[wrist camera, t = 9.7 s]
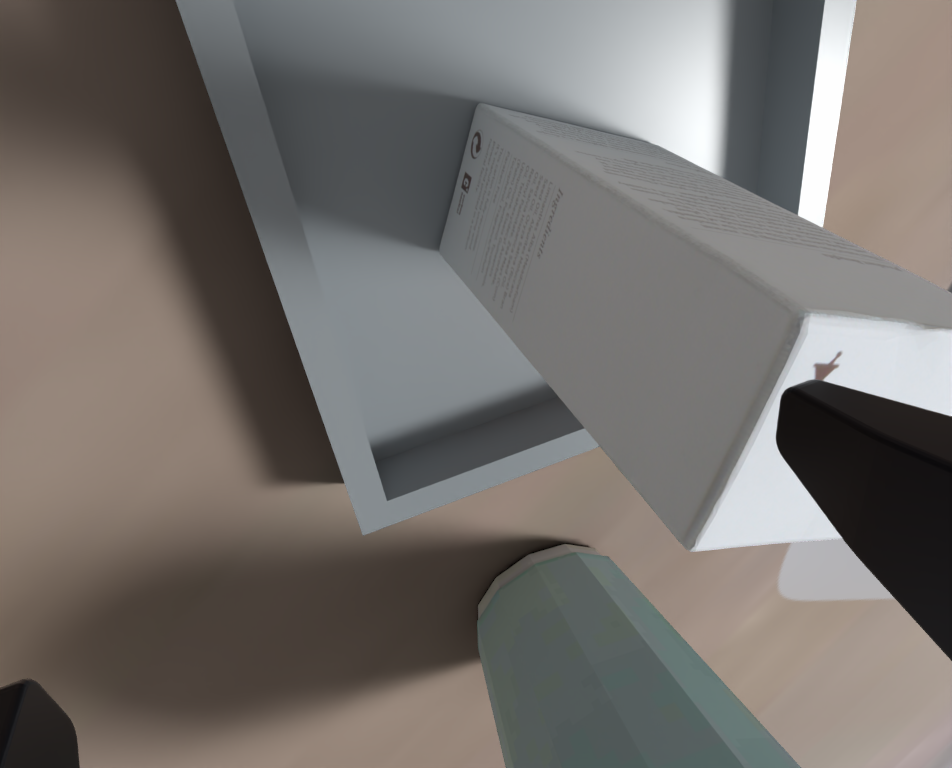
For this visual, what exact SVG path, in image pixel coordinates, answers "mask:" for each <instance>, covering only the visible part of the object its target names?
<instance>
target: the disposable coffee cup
mask: <svg viewBox="0 0 952 768" xmlns="http://www.w3.org/2000/svg"><path fill="white" fill-rule="evenodd" d="M477 632H478V650H479V654H480V659H481V663H482V667H483V672H484V676H485V680H486V685H487V689H488V693H489V697H490V702H491V706H492V710H493V715H494V719H495V723H496V727H497V732H498V736H499V740H500V745H501V749H502V753H503V758H504V762H505V766H506V768H801V767H800V766H799V765H798V764H797V763H796V761H795V760H794V759H793V758H792V757H791V756H790V755H789V754H788V753H787V752H786V751H785V749H784V748H783V747H782V746H781V745H780V744H779V743H778V742H777V741H776V740H775V738H774V737H773V736H772V735H771V734H770V733H769V732H768V731H767V730H766V729H765V728H764V726H763V725H762V724H761V723H760V722H759V721H758V720H757V719H756V718H755V717H754V715H753V714H752V713H751V712H750V711H749V710H748V709H747V708H746V707H745V706H744V705H743V703H742V702H741V701H740V700H739V699H738V698H737V697H736V696H735V695H734V694H733V692H732V691H731V690H730V689H729V688H728V687H727V686H726V685H725V684H724V683H723V682H722V680H721V679H720V678H719V677H718V676H717V675H716V674H715V673H714V672H713V671H712V669H711V668H710V667H709V666H708V665H707V664H706V663H705V662H704V661H703V660H702V659H701V657H700V656H699V655H698V654H697V653H696V652H695V651H694V650H693V649H692V648H691V646H690V645H689V644H688V643H687V642H686V641H685V640H684V639H683V638H682V637H681V636H680V634H679V633H678V632H677V631H676V630H675V629H674V628H673V627H672V626H671V625H670V623H669V622H668V621H667V620H666V619H665V618H664V617H663V616H662V615H661V614H660V613H659V611H658V610H657V609H656V608H655V607H654V606H653V605H652V604H651V603H650V602H649V600H648V599H647V598H646V597H645V596H644V595H643V594H642V593H641V592H640V591H639V590H638V588H637V587H636V586H635V585H634V584H633V583H632V582H631V581H630V580H629V579H628V577H627V576H626V575H625V574H624V573H623V572H622V571H621V570H620V569H619V568H618V567H617V565H616V564H615V563H614V562H613V561H612V560H611V559H610V558H609V557H608V556H601V555H600V554H599V553H598V552H597V551H596V550H595V548H589V547H582V546H575V545H569V544H563V545H560V546H556V547H553V548H549V549H546V550H542V551H539V552H536V553H532V554H529V555H527V556H526V557H524V558H523V559H521V560H520V561H519V562H517V563H516V564H514V565H513V566H512V567H510V568H509V569H507V570H506V571H505V572H503V573H502V574H500V575H499V576H498V577H496V578H495V580H494V581H493V583H492V585H491V586H490V588H489V589H488V591H487V592H486V594H485V595H484V597H483V598H482V600H481V602H480V603H479V605H478V621H477Z"/></svg>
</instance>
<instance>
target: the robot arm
mask: <svg viewBox="0 0 952 768" xmlns="http://www.w3.org/2000/svg"><path fill="white" fill-rule="evenodd" d="M776 444H777V447H778V450H779V452H780V454H781V456H782V457H783V459H784V460H785V462H786V463H787V464H788V466H789V467H790V468H791V470H792V471H793V472H794V474H795V475H796V476H797V478H798V479H799V480H800V482H801V483H802V485H803V486H804V487H805V489H806V490H807V491H808V493H809V494H810V495H811V497H812V498H813V499H814V501H815V502H816V503H817V505H818V506H819V508H820V509H821V510H822V512H823V513H824V514H825V516H826V517H827V518H828V520H829V521H830V522H831V524H832V525H833V526H834V528H835V529H836V531H837V532H838V533H839V535H840V536H841V537H842V538H843V539H844V541H845V542H846V543H847V544H848V546H849V547H850V548H851V549H852V551H853V552H854V553H855V554H856V556H857V557H858V558H859V559H860V560H861V561H862V562H863V563H864V565H865V566H866V567H867V568H868V569H869V570H870V571H871V572H872V574H873V575H874V576H875V577H876V578H877V579H878V580H879V581H880V582H881V584H882V585H883V586H884V587H885V588H886V589H887V590H888V591H889V592H890V593H891V594H892V596H893V597H894V598H895V599H896V600H897V601H898V602H899V603H900V604H901V606H902V607H903V608H904V609H905V610H906V611H907V612H908V613H909V614H910V615H911V617H912V618H913V619H914V620H915V621H916V622H917V623H918V624H919V625H920V627H921V628H922V629H923V630H924V631H925V632H926V633H927V634H928V635H929V636H930V638H931V639H932V640H933V641H934V642H935V643H936V644H937V645H938V646H939V647H940V649H941V650H942V651H943V652H944V653H945V654H946V655H947V656H948V657H949V658H950V660H951V661H952V416H949V415H945V414H942V413H938V412H934V411H931V410H927V409H923V408H920V407H916V406H913V405H909V404H905V403H902V402H898V401H894V400H891V399H887V398H884V397H880V396H876V395H873V394H869V393H865V392H862V391H858V390H855V389H851V388H847V387H844V386H840V385H836V384H833V383H829V382H826V381H822V380H817V379H812V380H807V381H805V382H802V383H799V384H797V385H794V386H792V387H789V388H787V389H786V390H785V391H784V392H783V394H782V395H781V399H780V406H779V413H778V421H777V429H776ZM0 768H80V767H79V755H78V743H77V736H76V732H75V728H74V726H73V723H72V721H71V720H70V718H69V717H68V715H67V714H66V713H65V712H64V711H63V710H62V709H61V708H60V707H59V705H58V704H57V703H56V702H55V701H54V700H53V699H52V698H51V697H50V695H49V694H48V693H47V692H46V691H45V690H44V689H43V688H42V687H41V685H40V684H38V683H37V682H36V681H34V680H32V679H22V680H20V681H17V682H14V683H12V684H9V685H6V686H4V687H1V688H0Z"/></svg>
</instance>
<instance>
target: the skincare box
mask: <svg viewBox="0 0 952 768" xmlns="http://www.w3.org/2000/svg"><path fill="white" fill-rule="evenodd" d="M439 252H440V254H441V256H442V257H443V258H444V260H445V261H446V262H447V263H448V264H449V265H450V267H451V268H452V269H453V270H454V272H455V273H456V274H457V275H458V276H459V278H460V279H461V280H462V281H463V282H464V284H465V285H466V286H467V287H468V288H469V289H470V291H471V292H472V293H473V294H474V295H475V297H476V298H477V299H478V300H479V302H480V303H481V304H482V305H483V306H484V308H485V309H486V310H487V311H488V312H489V313H490V315H491V316H492V317H493V318H494V320H495V321H496V322H497V323H498V324H499V326H500V327H501V328H502V329H503V331H504V332H505V333H506V334H507V335H508V336H509V338H510V339H511V340H512V341H513V342H514V344H515V345H516V346H517V348H518V349H519V350H520V351H521V352H522V354H523V355H524V356H525V357H526V358H527V360H528V361H529V362H530V363H531V364H532V366H533V367H534V368H535V369H536V370H537V372H538V373H539V374H540V375H541V376H542V377H543V378H544V379H545V381H546V382H547V383H548V385H549V386H550V387H551V388H552V389H553V390H554V392H555V393H556V394H557V395H558V397H559V398H560V399H561V400H562V401H563V402H564V404H565V405H566V406H567V407H568V409H569V410H570V411H571V412H572V414H573V415H574V416H575V417H576V418H577V420H578V421H579V422H580V423H581V424H582V425H583V427H584V428H585V429H586V430H587V432H588V433H589V434H590V435H591V436H592V438H593V439H594V440H595V441H596V442H597V443H598V445H599V446H600V447H601V448H602V450H603V451H604V452H605V453H606V454H607V455H608V457H609V458H610V459H611V460H612V461H613V463H614V464H615V465H616V467H617V468H618V469H619V470H620V471H621V473H622V474H623V475H624V476H625V477H626V478H627V480H628V481H629V482H630V483H631V484H632V486H633V487H634V488H635V489H636V490H637V491H638V493H639V494H640V495H641V496H642V497H643V499H644V500H645V501H646V502H647V503H648V505H649V506H650V507H651V508H652V509H653V511H654V512H655V513H656V514H657V515H658V517H659V518H660V519H661V520H662V522H663V523H664V524H665V525H666V526H667V528H668V529H669V530H670V531H671V532H672V534H673V535H674V536H675V537H676V539H677V540H678V541H679V542H680V543H681V544H682V545H683V546H684V548H685V549H687V550H689V551H691V552H694V551H706V550H716V549H725V548H734V547H745V546H757V545H767V544H779V543H792V542H806V541H819V540H833V539H843V538H842V537H841V536H840V535H839V533H838V532H837V531H836V529H835V528H834V526H833V525H832V524H831V522H830V521H829V520H828V518H827V517H826V516H825V514H824V513H823V512H822V510H821V509H820V508H819V506H818V505H817V503H816V502H815V501H814V499H813V498H812V497H811V495H810V494H809V493H808V491H807V490H806V489H805V487H804V486H803V485H802V483H801V482H800V480H799V479H798V478H797V476H796V475H795V474H794V472H793V471H792V470H791V468H790V467H789V466H788V464H787V463H786V462H785V460H784V459H783V457H782V456H781V454H780V452H779V450H778V447H777V444H776V429H777V421H778V413H779V406H780V399H781V395H782V394H783V392H784V391H785V390H786V389H787V388H789V387H792V386H794V385H797V384H799V383H802V382H805V381H807V380H812V379H817V380H822V381H826V382H829V383H833V384H836V385H840V386H844V387H847V388H851V389H855V390H858V391H862V392H865V393H869V394H873V395H876V396H880V397H884V398H887V399H891V400H894V401H898V402H902V403H905V404H909V405H913V406H916V407H920V408H923V409H927V410H931V411H934V412H938V413H942V414H945V415H949V416H952V293H950V292H949V291H947V290H945V289H943V288H941V287H939V286H937V285H935V284H933V283H932V282H930V281H928V280H926V279H924V278H922V277H920V276H918V275H916V274H914V273H912V272H910V271H908V270H906V269H904V268H902V267H900V266H898V265H896V264H894V263H892V262H890V261H888V260H886V259H884V258H882V257H880V256H878V255H876V254H874V253H872V252H870V251H868V250H866V249H864V248H862V247H860V246H858V245H856V244H854V243H852V242H850V241H848V240H846V239H844V238H842V237H840V236H838V235H836V234H834V233H832V232H830V231H828V230H826V229H824V228H822V227H820V226H818V225H816V224H814V223H812V222H810V221H808V220H806V219H804V218H802V217H800V216H798V215H796V214H794V213H792V212H790V211H788V210H786V209H784V208H782V207H780V206H778V205H775V204H773V203H771V202H769V201H767V200H765V199H763V198H761V197H759V196H757V195H755V194H754V193H752V192H750V191H748V190H746V189H744V188H742V187H740V186H738V185H736V184H734V183H732V182H730V181H728V180H726V179H724V178H722V177H720V176H718V175H716V174H714V173H712V172H710V171H708V170H706V169H704V168H702V167H700V166H698V165H696V164H694V163H692V162H690V161H688V160H686V159H684V158H682V157H680V156H678V155H676V154H674V153H672V152H670V151H668V150H666V149H664V148H662V147H660V146H658V145H655V144H651V143H646V142H642V141H638V140H634V139H630V138H626V137H622V136H618V135H613V134H609V133H605V132H600V131H596V130H592V129H588V128H584V127H580V126H576V125H572V124H568V123H563V122H559V121H555V120H551V119H547V118H542V117H538V116H534V115H529V114H525V113H521V112H517V111H512V110H508V109H504V108H500V107H495V106H491V105H487V104H483V103H479V104H478V105H477V107H476V109H475V113H474V117H473V121H472V124H471V128H470V132H469V136H468V140H467V144H466V148H465V151H464V155H463V160H462V164H461V168H460V172H459V175H458V179H457V183H456V187H455V191H454V195H453V199H452V202H451V206H450V210H449V213H448V217H447V221H446V225H445V228H444V232H443V236H442V239H441V244H440V248H439Z"/></svg>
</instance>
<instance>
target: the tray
mask: <svg viewBox="0 0 952 768" xmlns="http://www.w3.org/2000/svg"><path fill="white" fill-rule="evenodd" d="M176 3H177V6H178V9H179V12H180V14H181V17H182V20H183V23H184V26H185V29H186V32H187V34H188V37H189V40H190V43H191V46H192V49H193V52H194V54H195V57H196V60H197V63H198V66H199V69H200V72H201V74H202V77H203V80H204V83H205V86H206V89H207V92H208V94H209V97H210V100H211V103H212V106H213V109H214V112H215V114H216V117H217V120H218V123H219V126H220V129H221V132H222V134H223V137H224V140H225V143H226V146H227V149H228V152H229V154H230V157H231V160H232V163H233V166H234V169H235V172H236V174H237V177H238V180H239V183H240V186H241V189H242V192H243V194H244V197H245V200H246V203H247V206H248V209H249V212H250V214H251V217H252V220H253V223H254V226H255V229H256V232H257V234H258V237H259V240H260V243H261V246H262V249H263V252H264V254H265V257H266V260H267V263H268V266H269V269H270V272H271V274H272V277H273V280H274V283H275V286H276V289H277V292H278V294H279V297H280V300H281V303H282V306H283V309H284V312H285V314H286V317H287V320H288V323H289V326H290V329H291V332H292V334H293V337H294V340H295V343H296V346H297V349H298V352H299V354H300V357H301V360H302V363H303V366H304V369H305V372H306V374H307V377H308V380H309V383H310V386H311V389H312V392H313V394H314V397H315V400H316V403H317V406H318V409H319V412H320V414H321V417H322V420H323V423H324V426H325V429H326V432H327V434H328V437H329V440H330V443H331V446H332V449H333V452H334V454H335V457H336V460H337V463H338V466H339V469H340V472H341V474H342V477H343V480H344V483H345V486H346V489H347V492H348V494H349V497H350V500H351V503H352V506H353V509H354V512H355V514H356V517H357V520H358V523H359V526H360V529H361V532H362V534H363V535H366V534H369V533H371V532H374V531H377V530H379V529H382V528H385V527H387V526H390V525H393V524H395V523H398V522H400V521H403V520H406V519H408V518H411V517H414V516H416V515H419V514H422V513H424V512H427V511H430V510H432V509H435V508H438V507H440V506H443V505H446V504H448V503H451V502H454V501H456V500H459V499H462V498H464V497H467V496H470V495H472V494H475V493H477V492H480V491H483V490H485V489H488V488H491V487H493V486H496V485H499V484H501V483H504V482H507V481H509V480H512V479H515V478H517V477H520V476H523V475H525V474H528V473H531V472H533V471H536V470H539V469H541V468H544V467H546V466H549V465H552V464H554V463H557V462H560V461H562V460H565V459H568V458H570V457H573V456H576V455H578V454H581V453H584V452H586V451H589V450H592V449H594V448H597V447H600V446H599V445H598V443H597V442H596V441H595V440H594V439H593V438H592V436H591V435H590V434H589V433H588V432H587V430H586V429H585V428H584V427H583V425H582V424H581V423H580V422H579V421H578V420H577V418H576V417H575V416H574V415H573V414H572V412H571V411H570V410H569V409H568V407H567V406H566V405H565V404H564V402H563V401H562V400H561V399H560V398H559V397H558V395H557V394H556V393H555V392H554V390H553V389H552V388H551V387H550V386H549V385H548V383H547V382H546V381H545V379H544V378H543V377H542V376H541V375H540V374H539V373H538V372H537V370H536V369H535V368H534V367H533V366H532V364H531V363H530V362H529V361H528V360H527V358H526V357H525V356H524V355H523V354H522V352H521V351H520V350H519V349H518V348H517V346H516V345H515V344H514V342H513V341H512V340H511V339H510V338H509V336H508V335H507V334H506V333H505V332H504V331H503V329H502V328H501V327H500V326H499V324H498V323H497V322H496V321H495V320H494V318H493V317H492V316H491V315H490V313H489V312H488V311H487V310H486V309H485V308H484V306H483V305H482V304H481V303H480V302H479V300H478V299H477V298H476V297H475V295H474V294H473V293H472V292H471V291H470V289H469V288H468V287H467V286H466V285H465V284H464V282H463V281H462V280H461V279H460V278H459V276H458V275H457V274H456V273H455V272H454V270H453V269H452V268H451V267H450V265H449V264H448V263H447V262H446V261H445V260H444V258H443V257H442V256H441V254H440V252H439V248H440V244H441V239H442V236H443V232H444V228H445V225H446V221H447V217H448V213H449V210H450V206H451V202H452V199H453V195H454V191H455V187H456V183H457V179H458V175H459V172H460V168H461V164H462V160H463V155H464V151H465V148H466V144H467V140H468V136H469V132H470V128H471V124H472V121H473V117H474V113H475V109H476V107H477V105H478V104H479V103H483V104H487V105H491V106H495V107H500V108H504V109H508V110H512V111H517V112H521V113H525V114H529V115H534V116H538V117H542V118H547V119H551V120H555V121H559V122H563V123H568V124H572V125H576V126H580V127H584V128H588V129H592V130H596V131H600V132H605V133H609V134H613V135H618V136H622V137H626V138H630V139H634V140H638V141H642V142H646V143H651V144H655V145H658V146H660V147H662V148H664V149H666V150H668V151H670V152H672V153H674V154H676V155H678V156H680V157H682V158H684V159H686V160H688V161H690V162H692V163H694V164H696V165H698V166H700V167H702V168H704V169H706V170H708V171H710V172H712V173H714V174H716V175H718V176H720V177H722V178H724V179H726V180H728V181H730V182H732V183H734V184H736V185H738V186H740V187H742V188H744V189H746V190H748V191H750V192H752V193H754V194H755V195H757V196H759V197H761V198H763V199H765V200H767V201H769V202H771V203H773V204H775V205H778V206H780V207H782V208H784V209H786V210H788V211H790V212H792V213H794V214H796V215H798V216H800V217H802V218H804V219H806V220H808V221H810V222H812V223H814V224H816V225H818V226H820V227H822V228H823V223H824V216H825V209H826V202H827V196H828V189H829V182H830V175H831V169H832V162H833V155H834V149H835V142H836V135H837V128H838V122H839V115H840V108H841V101H842V95H843V88H844V81H845V74H846V68H847V61H848V54H849V48H850V41H851V34H852V27H853V21H854V14H855V7H856V0H176Z"/></svg>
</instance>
